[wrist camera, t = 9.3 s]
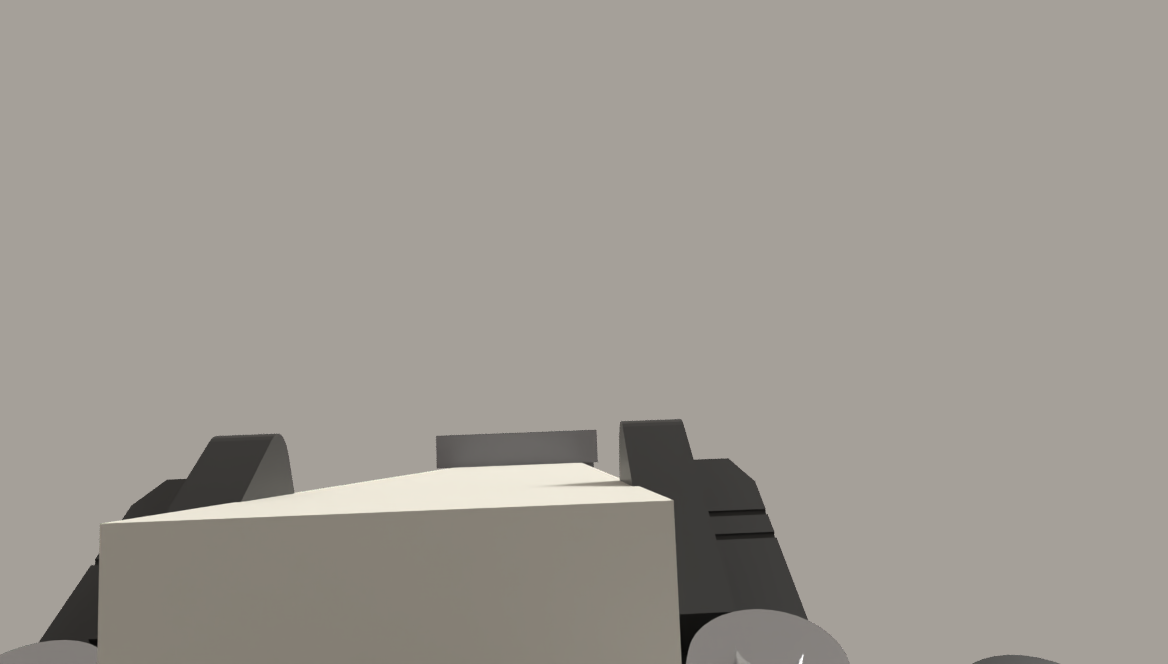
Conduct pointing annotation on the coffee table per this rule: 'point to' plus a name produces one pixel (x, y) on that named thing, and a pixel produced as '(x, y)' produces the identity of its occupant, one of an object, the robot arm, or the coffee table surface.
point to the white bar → (407, 568)
